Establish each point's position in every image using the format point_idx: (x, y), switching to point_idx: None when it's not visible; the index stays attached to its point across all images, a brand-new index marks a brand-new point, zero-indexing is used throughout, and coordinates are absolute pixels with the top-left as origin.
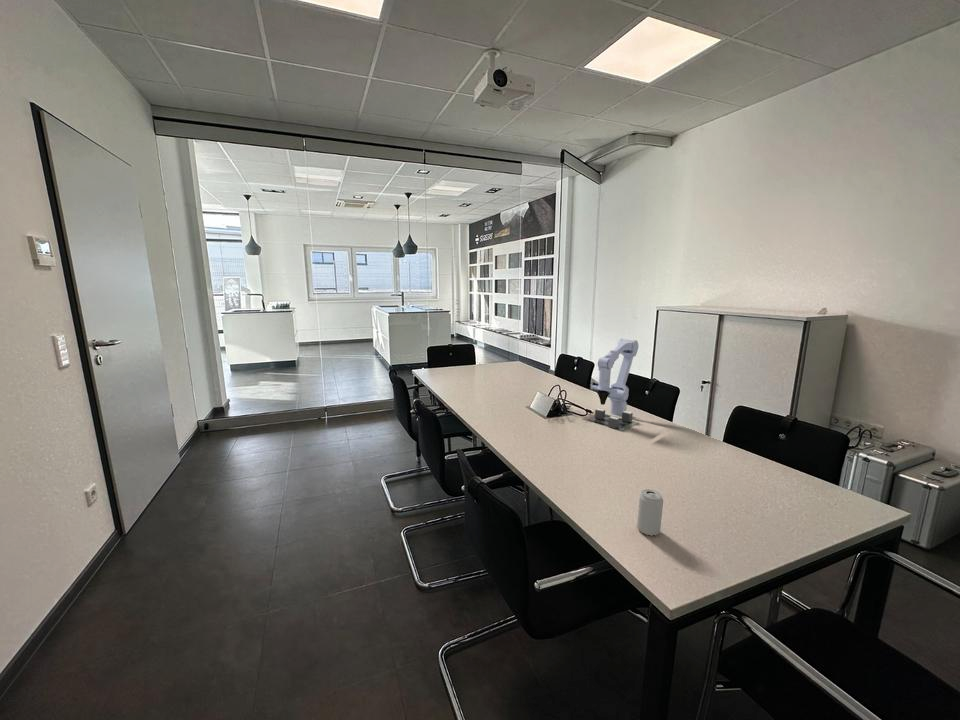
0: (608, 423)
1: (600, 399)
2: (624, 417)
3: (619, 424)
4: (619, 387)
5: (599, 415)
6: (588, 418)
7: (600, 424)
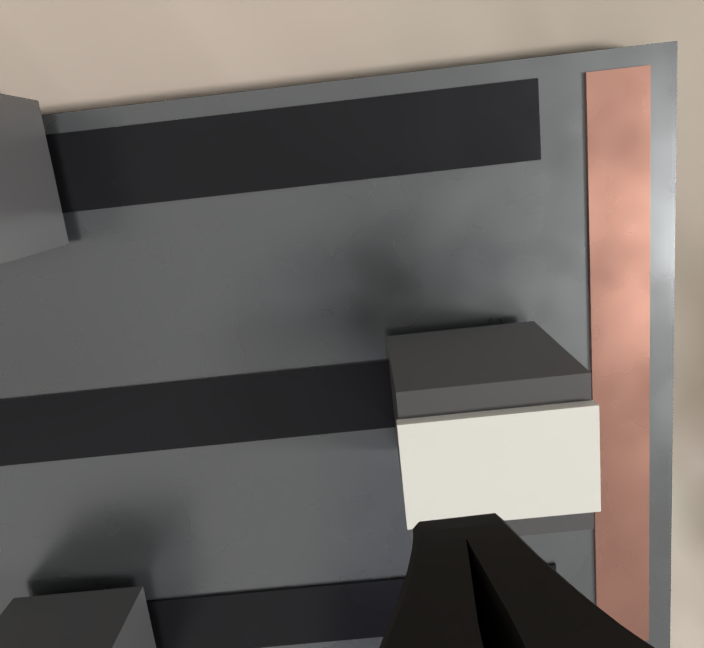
0: (3, 95)
1: (554, 598)
2: (69, 637)
3: (35, 397)
4: None
5: (440, 353)
6: (601, 200)
7: (226, 98)
